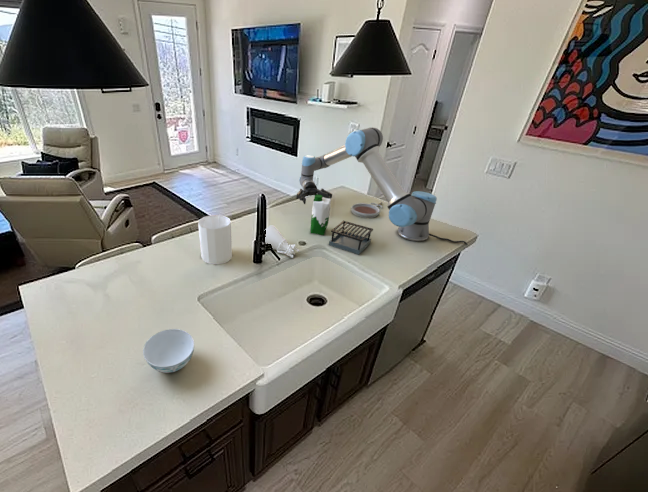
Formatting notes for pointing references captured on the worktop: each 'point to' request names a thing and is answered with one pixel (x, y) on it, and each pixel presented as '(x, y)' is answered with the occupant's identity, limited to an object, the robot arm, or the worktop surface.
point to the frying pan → (366, 210)
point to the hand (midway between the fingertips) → (317, 201)
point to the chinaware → (169, 350)
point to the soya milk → (320, 214)
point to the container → (215, 239)
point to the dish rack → (350, 238)
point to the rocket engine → (279, 241)
